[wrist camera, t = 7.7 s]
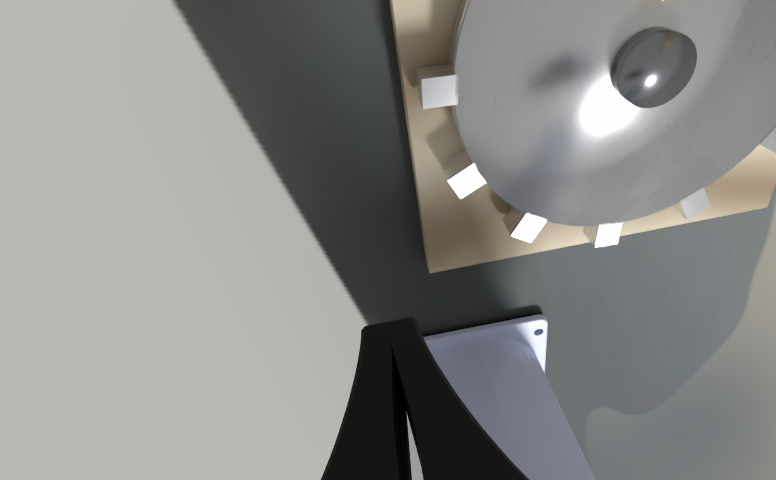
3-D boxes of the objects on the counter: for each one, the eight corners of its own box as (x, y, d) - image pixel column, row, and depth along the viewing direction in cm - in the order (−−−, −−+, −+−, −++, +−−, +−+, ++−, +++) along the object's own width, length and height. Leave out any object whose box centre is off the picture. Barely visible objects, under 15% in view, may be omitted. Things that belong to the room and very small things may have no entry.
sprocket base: (751, 196, 23) (772, 210, 22) (425, 260, 23) (430, 277, 22) (933, -332, 13) (986, -352, 12) (358, -220, 13) (361, -230, 12)
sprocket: (639, 268, 23) (719, 360, 19) (348, 165, 18) (357, 255, 14) (949, -72, 16) (1210, -61, 11) (600, -403, 11) (808, -629, 6)
